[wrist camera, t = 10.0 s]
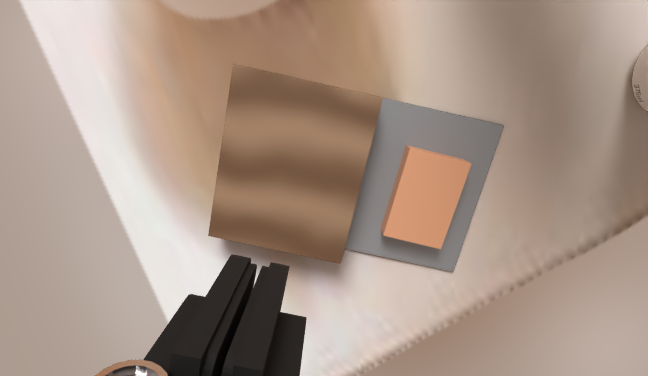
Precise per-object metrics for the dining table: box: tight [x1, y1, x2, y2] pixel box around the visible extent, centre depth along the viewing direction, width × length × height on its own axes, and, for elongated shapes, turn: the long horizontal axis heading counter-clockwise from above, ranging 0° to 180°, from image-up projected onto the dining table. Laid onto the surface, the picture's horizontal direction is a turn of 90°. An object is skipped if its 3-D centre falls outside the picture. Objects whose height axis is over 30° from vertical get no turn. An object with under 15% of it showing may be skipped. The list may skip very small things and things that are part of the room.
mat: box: [345, 98, 504, 272], centre depth 37 cm, size 16×12×1 cm
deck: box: [208, 64, 383, 264], centre depth 35 cm, size 16×13×4 cm
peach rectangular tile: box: [381, 145, 472, 249], centre depth 36 cm, size 9×6×2 cm, turn 166°
